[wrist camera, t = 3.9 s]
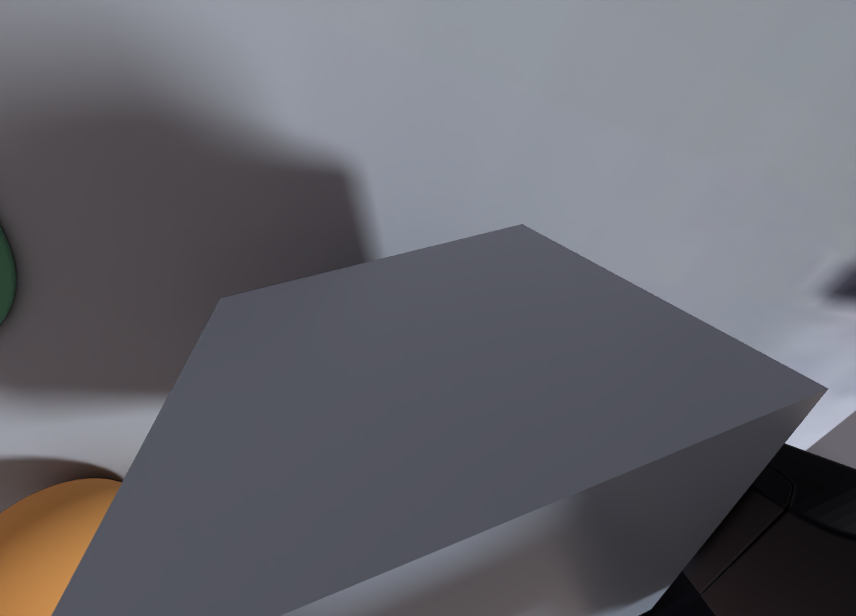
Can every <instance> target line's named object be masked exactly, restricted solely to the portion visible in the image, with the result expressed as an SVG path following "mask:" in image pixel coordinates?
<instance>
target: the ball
mask: <svg viewBox="0 0 856 616" xmlns="http://www.w3.org/2000/svg"><path fill="white" fill-rule="evenodd" d="M121 484H122V482H118V481H115V480H110V479H100V478H88V479H78V480H73V481H68V482H64V483H60V484H57V485H54V486H51V487H48V488H46V489H43V490H40V491H38V492H36V493H34V494H32V495H30V496H28V497H26V498H24V499H22V500H20V501H19V502H17V503H15V504H14V505H12V506H11V507H9V508H7V509H6V510H4V511H3V512H2V513H0V616H51V615H52V613H53V611H54V610H55V608H56V606H57V604H58V602H59V600H60V598H61V596H62V595H63V593H64V591H65V589H66V587H67V585H68V583H69V581H70V580H71V578H72V576H73V574H74V572H75V570H76V568H77V566H78V564H79V563H80V561H81V559H82V557H83V555H84V553H85V551H86V549H87V548H88V546H89V544H90V542H91V540H92V538H93V536H94V534H95V533H96V531H97V529H98V527H99V525H100V523H101V521H102V519H103V518H104V516H105V514H106V512H107V510H108V508H109V506H110V504H111V502H112V501H113V499H114V497H115V495H116V493H117V491H118V489H119V487H120V486H121Z"/></svg>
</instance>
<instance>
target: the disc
mask: <svg viewBox="0 0 856 616" xmlns="http://www.w3.org/2000/svg"><path fill="white" fill-rule="evenodd" d="M15 290H16V270H15V264H14V260H13V256H12V252H11V249H10V246H9V244H8V242H7V239H6V237H5V235H4V233H3V230H2V228H1V226H0V324H1V323H2V322H3V320H4V319H5V318H6V316H7V315H8V313H9V310H10V308H11V306H12V303H13V301H14V296H15Z"/></svg>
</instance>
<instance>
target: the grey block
mask: <svg viewBox="0 0 856 616" xmlns="http://www.w3.org/2000/svg"><path fill="white" fill-rule="evenodd" d="M827 390H828V388H826V387H824V386H822V385H820V384H819V383H817V382H815V381H813V380H811V379H809V378H807V377H806V376H804V375H802V374H800V373H798V372H796V371H794V370H793V369H791V368H789V367H787V366H785V365H783V364H781V363H780V362H778V361H776V360H774V359H772V358H770V357H768V356H767V355H765V354H763V353H761V352H759V351H757V350H755V349H753V348H752V347H750V346H748V345H746V344H744V343H742V342H740V341H739V340H737V339H735V338H733V337H731V336H729V335H727V334H726V333H724V332H722V331H720V330H718V329H716V328H714V327H713V326H711V325H709V324H707V323H705V322H703V321H701V320H700V319H698V318H696V317H694V316H692V315H690V314H688V313H686V312H685V311H683V310H681V309H679V308H677V307H675V306H673V305H672V304H670V303H668V302H666V301H664V300H662V299H660V298H659V297H657V296H655V295H653V294H651V293H649V292H647V291H646V290H644V289H642V288H640V287H638V286H636V285H634V284H633V283H631V282H629V281H627V280H625V279H623V278H621V277H619V276H618V275H616V274H614V273H612V272H610V271H608V270H606V269H605V268H603V267H601V266H599V265H597V264H595V263H593V262H592V261H590V260H588V259H586V258H584V257H582V256H580V255H579V254H577V253H575V252H573V251H571V250H569V249H567V248H566V247H564V246H562V245H560V244H558V243H556V242H554V241H552V240H551V239H549V238H547V237H545V236H543V235H541V234H539V233H538V232H536V231H534V230H532V229H530V228H528V227H526V226H525V225H523V224H521V225H517V226H513V227H509V228H505V229H501V230H497V231H492V232H488V233H484V234H480V235H476V236H472V237H468V238H464V239H460V240H456V241H452V242H448V243H443V244H439V245H435V246H431V247H427V248H423V249H419V250H415V251H411V252H407V253H403V254H399V255H395V256H390V257H386V258H382V259H378V260H374V261H370V262H366V263H362V264H358V265H354V266H350V267H346V268H341V269H337V270H333V271H329V272H325V273H321V274H317V275H313V276H309V277H305V278H301V279H297V280H292V281H288V282H284V283H280V284H276V285H272V286H268V287H264V288H260V289H256V290H252V291H248V292H244V293H239V294H235V295H231V296H227V297H223V298H220V300H219V301H218V303H217V305H216V307H215V309H214V311H213V313H212V315H211V317H210V318H209V320H208V322H207V324H206V326H205V328H204V330H203V332H202V333H201V335H200V337H199V339H198V341H197V343H196V345H195V347H194V348H193V350H192V352H191V354H190V356H189V358H188V360H187V362H186V363H185V365H184V367H183V369H182V371H181V373H180V375H179V377H178V379H177V380H176V382H175V384H174V386H173V388H172V390H171V392H170V394H169V395H168V397H167V399H166V401H165V403H164V405H163V407H162V409H161V410H160V412H159V414H158V416H157V418H156V420H155V422H154V424H153V425H152V427H151V429H150V431H149V433H148V435H147V437H146V439H145V440H144V442H143V444H142V446H141V448H140V450H139V452H138V454H137V456H136V457H135V459H134V461H133V463H132V465H131V467H130V469H129V471H128V472H127V474H126V476H125V478H124V480H123V482H122V484H121V486H120V487H119V489H118V491H117V493H116V495H115V497H114V499H113V501H112V502H111V504H110V506H109V508H108V510H107V512H106V514H105V516H104V518H103V519H102V521H101V523H100V525H99V527H98V529H97V531H96V533H95V534H94V536H93V538H92V540H91V542H90V544H89V546H88V548H87V549H86V551H85V553H84V555H83V557H82V559H81V561H80V563H79V564H78V566H77V568H76V570H75V572H74V574H73V576H72V578H71V580H70V581H69V583H68V585H67V587H66V589H65V591H64V593H63V595H62V596H61V598H60V600H59V602H58V604H57V606H56V608H55V610H54V611H53V613H52V615H51V616H639V615H641V614H643V613H645V612H647V611H649V610H651V609H652V607H653V606H654V605H655V604H656V602H657V601H658V600H659V599H660V598H661V596H662V595H663V594H664V593H665V591H666V590H667V589H668V588H669V586H670V585H671V584H672V583H673V581H674V580H675V579H676V578H677V576H678V575H679V574H680V573H681V571H682V570H683V569H684V568H685V566H686V565H687V564H688V563H689V561H690V560H691V559H692V558H693V556H694V555H695V554H696V553H697V551H698V550H699V549H700V548H701V547H702V545H703V544H704V543H705V542H706V540H707V539H708V538H709V537H710V535H711V534H712V533H713V532H714V530H715V529H716V528H717V527H718V525H719V524H720V523H721V522H722V520H723V519H724V518H725V517H726V515H727V514H728V513H729V512H730V510H731V509H732V508H733V507H734V505H735V504H736V503H737V502H738V500H739V499H740V498H741V497H742V496H743V494H744V493H745V492H746V491H747V489H748V488H749V487H750V486H751V484H752V483H753V482H754V481H755V479H756V478H757V477H758V476H759V474H760V473H761V472H762V471H763V469H764V468H765V467H766V466H767V464H768V463H769V462H770V461H771V459H772V458H773V457H774V456H775V454H776V453H777V452H778V451H779V449H780V448H781V447H782V446H783V444H784V443H785V442H786V441H787V440H788V438H789V437H790V436H791V435H792V433H793V432H794V431H795V430H796V428H797V427H798V426H799V425H800V423H801V422H802V421H803V420H804V418H805V417H806V416H807V415H808V413H809V412H810V411H811V410H812V408H813V407H814V406H815V405H816V403H817V402H818V401H819V400H820V398H821V397H822V396H823V395H824V393H825V392H826V391H827Z"/></svg>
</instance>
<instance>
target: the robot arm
mask: <svg viewBox="0 0 856 616" xmlns="http://www.w3.org/2000/svg"><path fill="white" fill-rule="evenodd" d="M639 616H856V469H854V468H851V467H849V466H846V465H843V464H840V463H837V462H835V461H832V460H829V459H826V458H824V457H821V456H818V455H815V454H812V453H810V452H807V451H804V450H801V449H799V448H796V447H793V446H790V445H788V444H785V443H784V444H783V446H782V447H781V448H780V449H779V451H778V452H777V453H776V454H775V456H774V457H773V458H772V459H771V461H770V462H769V463H768V464H767V466H766V467H765V468H764V469H763V471H762V472H761V473H760V474H759V476H758V477H757V478H756V479H755V481H754V482H753V483H752V484H751V486H750V487H749V488H748V489H747V491H746V492H745V493H744V494H743V496H742V497H741V498H740V499H739V500H738V502H737V503H736V504H735V505H734V507H733V508H732V509H731V510H730V512H729V513H728V514H727V515H726V517H725V518H724V519H723V520H722V522H721V523H720V524H719V525H718V527H717V528H716V529H715V530H714V532H713V533H712V534H711V535H710V537H709V538H708V539H707V540H706V542H705V543H704V544H703V545H702V547H701V548H700V549H699V550H698V551H697V553H696V554H695V555H694V556H693V558H692V559H691V560H690V561H689V563H688V564H687V565H686V566H685V568H684V569H683V570H682V571H681V573H680V574H679V575H678V576H677V578H676V579H675V580H674V581H673V583H672V584H671V585H670V586H669V588H668V589H667V590H666V591H665V593H664V594H663V595H662V596H661V598H660V599H659V600H658V601H657V602H656V604H655V605H654V606H653V607H652V609H651V610H649V611H647V612H645V613H643V614H641V615H639Z"/></svg>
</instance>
